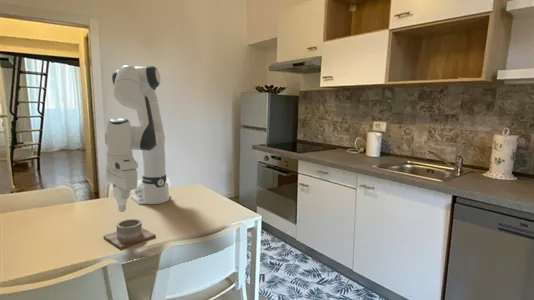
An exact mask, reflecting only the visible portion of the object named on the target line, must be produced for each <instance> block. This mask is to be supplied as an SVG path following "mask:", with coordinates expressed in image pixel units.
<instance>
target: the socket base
mask: <svg viewBox="0 0 534 300" xmlns="http://www.w3.org/2000/svg"><path fill="white" fill-rule="evenodd" d="M142 223H143V222H142V220H140V219H137V218H129V219H124V220H121V221H119V222H118V223H116V231H114V232H111V233H107V234H104V235H103V239H104V240H106V241H107V242H109V243H110V244H112V245H113V246H115V247H116V248H117V249H119V250H123V249H126V248H128V247H131V246H134V245H137V244H141V243H143V242H145V241H149V240H152V239H154V238H156V236H157V235H156V234H155V233H153V232H151V231H150V230H147V229H145V228H143V227H142V226H143V224H142Z"/></svg>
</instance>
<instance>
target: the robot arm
mask: <svg viewBox="0 0 534 300" xmlns="http://www.w3.org/2000/svg"><path fill="white" fill-rule="evenodd" d="M111 78H112V79H111V81H112V85H113V96H114V98H115V100H116V101H117V102H118V103H119V104H120V105H122V106H123V107H125V108H127V109H132V110H135V111H136V113H137V119H138V122H139V126H138V125H137V126H136V125H135V126H134V125H133V126H132V125H131V121H130V120H129V119H127V118H123V117H122V118H121V117H120V118H119V117H118V118H110V119H109V120H107V123H106V130H105V131H106V132H105V144H106V146H107V150H106V168H105V173H106V174H105V178H106V181H107V182H108V183H111V184H112V190H113V189H114V187H115V186H119V187H121V188H123V194H122V198H123V199H127V200H128V199H129V197H130V196H131V199H132V200H133V201H135V202H136V203H137V204H138V205H159V204H164V203H166V202H168V201H170V198H171V194H170V189H169V188H170V187H169V183H168V182H167V180H168V179H167V174H166V151H165V150H166V149H165V142H166V136H165V135H166V134H165V131H164V126H163V122H162V118H161V112H160V105H159V101H158V97H157V92H156V90H157V88H158V87H159V86H160V84H161V73H160V72H159V70H158V68H157V67H155V66H153V65H147V66H133V65H129V64H127V65H126V64H125V65H122V66H121V67H119V69H117V70H115V71H114V72H113V73H112V76H111ZM139 150H140V151H142V152H141V153H142V159H143V160H142V161H143V163H142V164H143V175H142V176H141V179H142V180H141V183H140V184H139V185H138V170H137V169H139V163H138V162H137V161H136V159H135V158H134V156H133V151H139ZM130 191H135V192H134V193H135V194H132V195H130V196H129V192H130Z"/></svg>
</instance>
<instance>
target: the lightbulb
mask: <svg viewBox="0 0 534 300" xmlns="http://www.w3.org/2000/svg"><path fill="white" fill-rule="evenodd" d="M131 191H132V190H130V192H129V197H130V196H131V194H132V193H131ZM111 193H112V197H113V199H115V201H116V203H117V209H118V212H121V213H123V212H125V211H127V202H128V199H123V198H122V194H123V188H121V187H119V186H115V187H114V189H113V188H112V192H111Z"/></svg>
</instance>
